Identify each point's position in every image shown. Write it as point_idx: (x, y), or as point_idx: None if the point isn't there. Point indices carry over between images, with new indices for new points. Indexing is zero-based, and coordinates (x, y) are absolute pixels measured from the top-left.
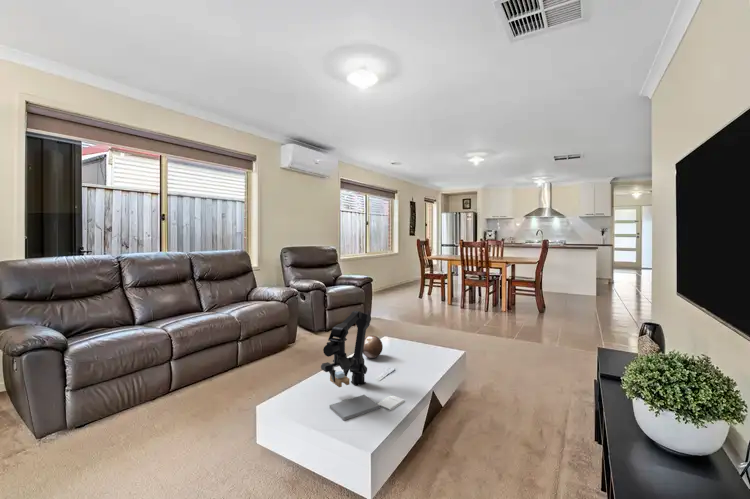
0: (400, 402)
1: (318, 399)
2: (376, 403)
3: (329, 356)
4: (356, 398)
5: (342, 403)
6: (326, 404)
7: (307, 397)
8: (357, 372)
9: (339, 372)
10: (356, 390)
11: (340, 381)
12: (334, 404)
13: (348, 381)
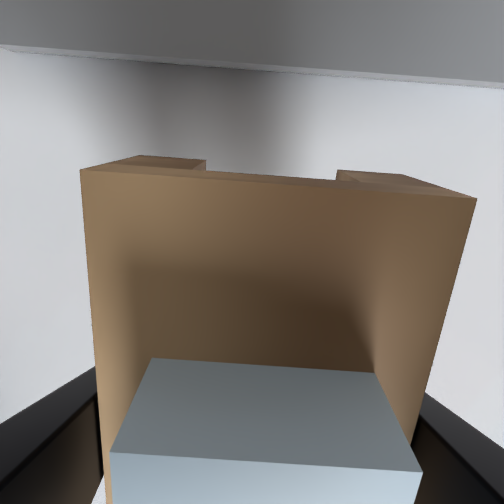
0: None
1: (457, 338)
2: None
3: None
4: (145, 5)
5: (394, 2)
6: (476, 195)
7: (500, 426)
8: None
9: None
10: (20, 270)
11: (422, 191)
12: (491, 54)
13: (143, 165)
